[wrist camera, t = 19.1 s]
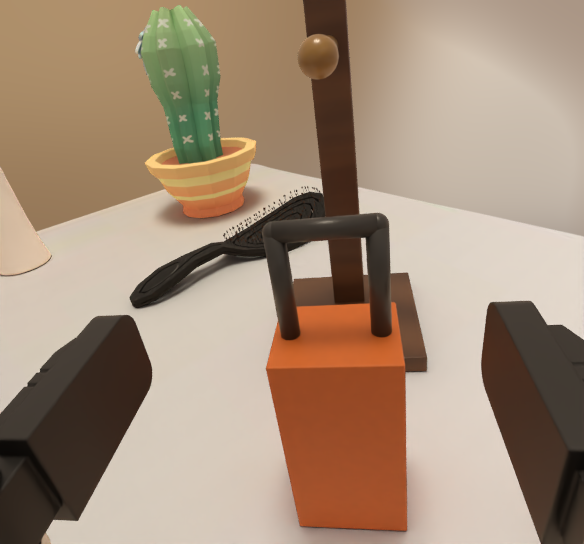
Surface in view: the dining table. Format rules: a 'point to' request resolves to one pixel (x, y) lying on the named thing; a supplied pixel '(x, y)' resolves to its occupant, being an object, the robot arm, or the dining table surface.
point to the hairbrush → (228, 247)
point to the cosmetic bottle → (17, 235)
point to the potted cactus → (192, 116)
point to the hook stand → (344, 176)
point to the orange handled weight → (340, 385)
